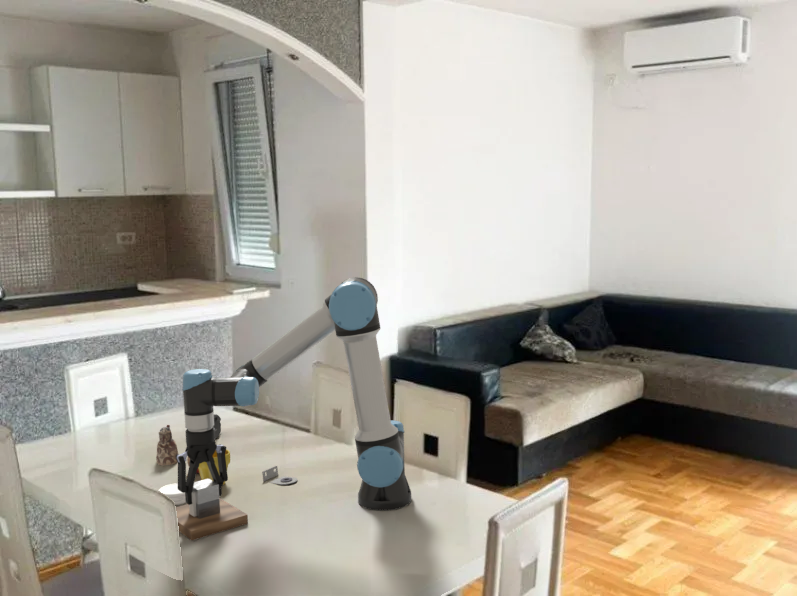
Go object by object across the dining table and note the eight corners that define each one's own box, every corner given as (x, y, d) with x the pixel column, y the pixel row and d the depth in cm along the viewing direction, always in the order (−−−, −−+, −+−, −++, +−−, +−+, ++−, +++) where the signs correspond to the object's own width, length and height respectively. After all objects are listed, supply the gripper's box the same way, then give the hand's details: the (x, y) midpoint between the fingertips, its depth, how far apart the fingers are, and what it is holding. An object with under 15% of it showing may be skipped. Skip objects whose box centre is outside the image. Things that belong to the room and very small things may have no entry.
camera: (193, 434, 298) (192, 408, 297) (221, 431, 301) (219, 405, 300) (194, 444, 285) (193, 417, 284) (223, 441, 288) (221, 414, 287)
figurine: (152, 464, 265) (150, 429, 263) (163, 457, 272) (161, 423, 270) (172, 465, 263) (169, 430, 262) (182, 459, 270) (180, 424, 268)
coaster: (156, 497, 236) (155, 485, 236) (191, 491, 240) (190, 480, 240) (160, 508, 227) (159, 496, 227) (196, 502, 231) (195, 491, 230)
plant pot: (217, 475, 253) (215, 445, 251) (238, 482, 246) (237, 451, 245) (189, 485, 245) (187, 454, 243) (211, 492, 238) (209, 460, 237)
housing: (220, 512, 216) (218, 484, 215) (199, 519, 212) (197, 489, 211) (210, 506, 221) (208, 478, 220) (189, 512, 217) (187, 483, 216)
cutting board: (247, 523, 215) (247, 514, 214) (191, 540, 205) (191, 531, 204) (217, 504, 229) (216, 496, 228) (163, 519, 219) (162, 510, 218)
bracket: (287, 488, 241) (287, 476, 241) (262, 482, 247) (262, 471, 247) (301, 481, 247) (301, 470, 246) (277, 476, 252) (276, 465, 252)
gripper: (225, 418, 222) (230, 498, 225) (159, 432, 210) (165, 517, 213) (238, 423, 216) (243, 506, 219) (171, 438, 205) (177, 525, 208)
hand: (204, 511), depth 216 cm, fingers closed on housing, 6 cm apart
